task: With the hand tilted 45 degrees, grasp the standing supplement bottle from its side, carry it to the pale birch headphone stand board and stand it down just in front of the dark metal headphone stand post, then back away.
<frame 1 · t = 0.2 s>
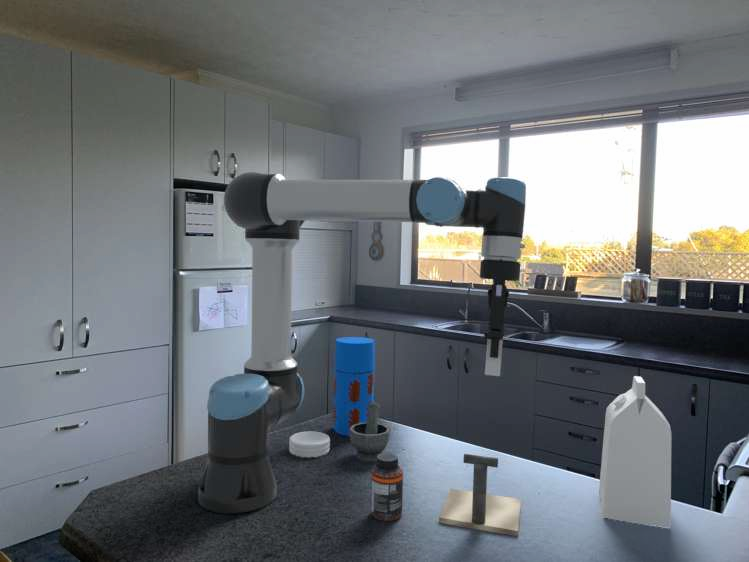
hand: (492, 369, 106), 27 cm above the countertop, tool pointing down, fingers open, 13 cm apart
mortar and pestle: (369, 456, 133), on the countertop
thermos: (353, 430, 151), on the countertop
milk: (632, 510, 108), on the countertop
white round container: (309, 451, 135), on the countertop
headphone stand: (481, 513, 105), on the countertop
supplement bottle: (386, 515, 103), on the countertop
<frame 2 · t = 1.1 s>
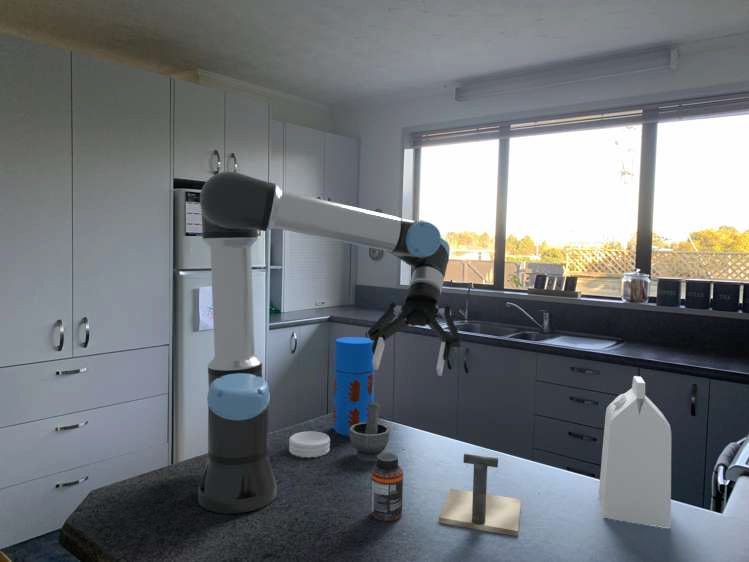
hand: (406, 369, 112), 25 cm above the countertop, tool tilted 45°, fingers open, 13 cm apart
nothing on the countertop moved.
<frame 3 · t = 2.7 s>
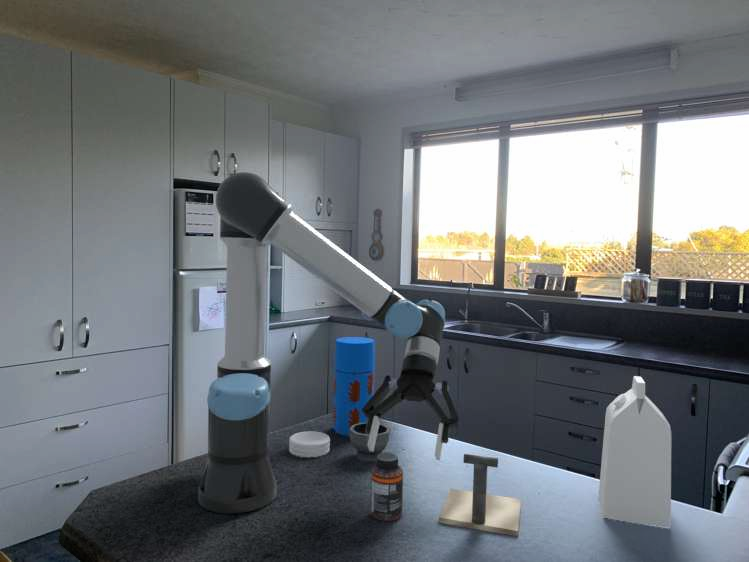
hand: (403, 452, 108), 10 cm above the countertop, tool tilted 45°, fingers open, 13 cm apart
nothing on the countertop moved.
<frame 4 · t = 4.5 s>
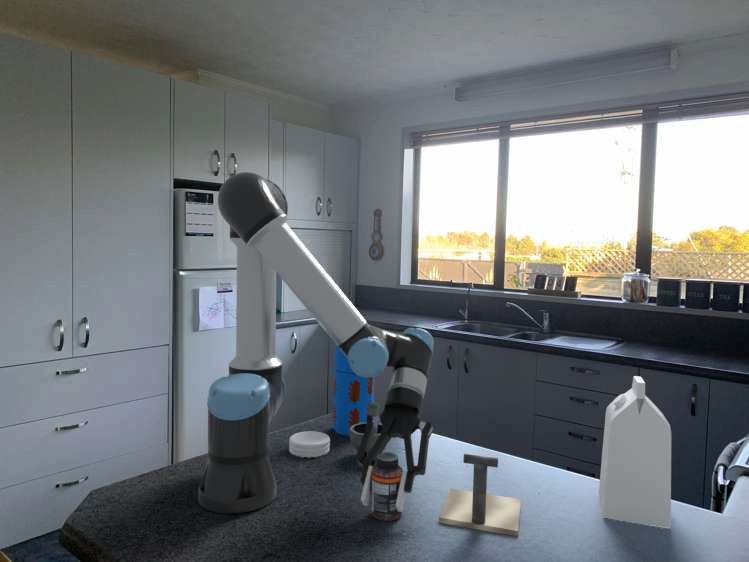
hand: (381, 505, 100), 3 cm above the countertop, tool tilted 45°, fingers closed on supplement bottle, 6 cm apart
supplement bottle: (386, 515, 103), on the countertop, touching gripper
everything else where it was.
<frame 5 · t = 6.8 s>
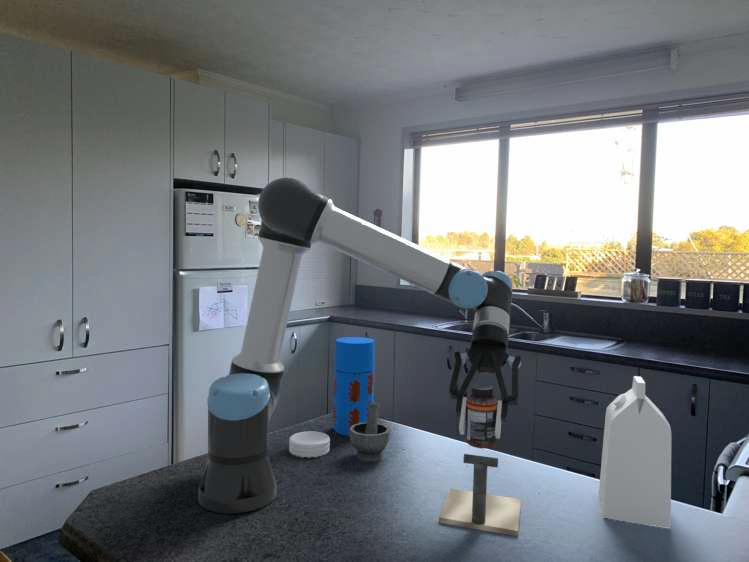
hand: (479, 432, 102), 16 cm above the countertop, tool tilted 45°, fingers closed on supplement bottle, 6 cm apart
supplement bottle: (481, 445, 106), point 13 cm above the countertop, touching gripper
everything else where it was.
when the fingers open (5 cm above the countertop, at t = 9.1 s): supplement bottle stays where it is, resting on headphone stand.
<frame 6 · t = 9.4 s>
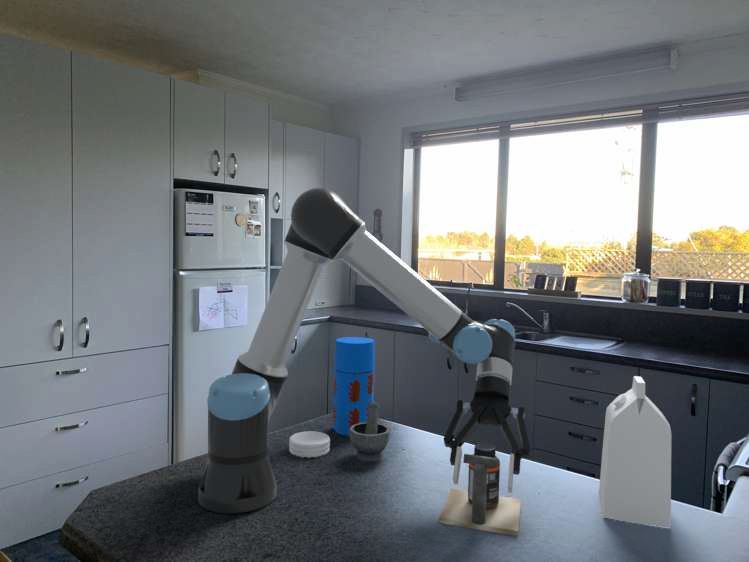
hand: (482, 485, 103), 6 cm above the countertop, tool tilted 45°, fingers open, 9 cm apart
supplement bottle: (482, 504, 107), point 1 cm above the countertop, touching headphone stand
everything else where it was.
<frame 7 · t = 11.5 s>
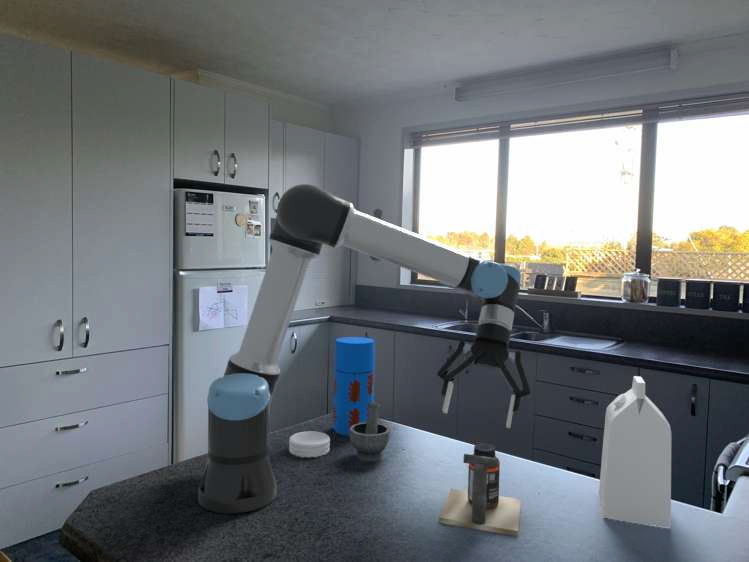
hand: (475, 419, 117), 14 cm above the countertop, tool tilted 30°, fingers open, 13 cm apart
nothing on the countertop moved.
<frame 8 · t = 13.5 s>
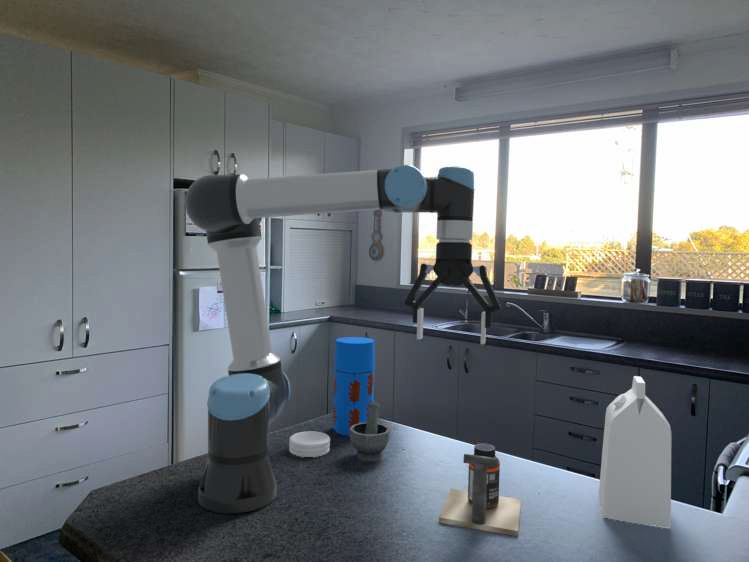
hand: (450, 341, 117), 31 cm above the countertop, tool pointing down, fingers open, 13 cm apart
nothing on the countertop moved.
at the end: supplement bottle inside the target area on the headphone stand (0.2 cm from its centre), point 0.8 cm above the headphone stand's base; supplement bottle tilted 0°; the gripper is holding nothing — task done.
